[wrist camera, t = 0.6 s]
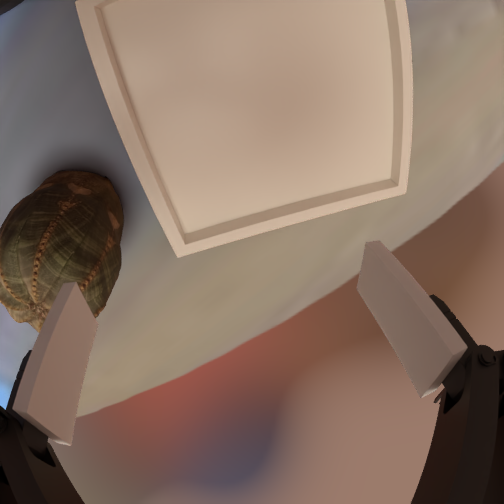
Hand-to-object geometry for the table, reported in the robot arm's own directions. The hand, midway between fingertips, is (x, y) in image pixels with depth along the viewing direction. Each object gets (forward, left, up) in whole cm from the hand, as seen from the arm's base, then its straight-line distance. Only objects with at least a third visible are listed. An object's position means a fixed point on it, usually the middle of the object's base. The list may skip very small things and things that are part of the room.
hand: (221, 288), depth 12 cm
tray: (-4, +7, -14) cm, 16 cm away
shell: (+1, -13, -15) cm, 19 cm away
